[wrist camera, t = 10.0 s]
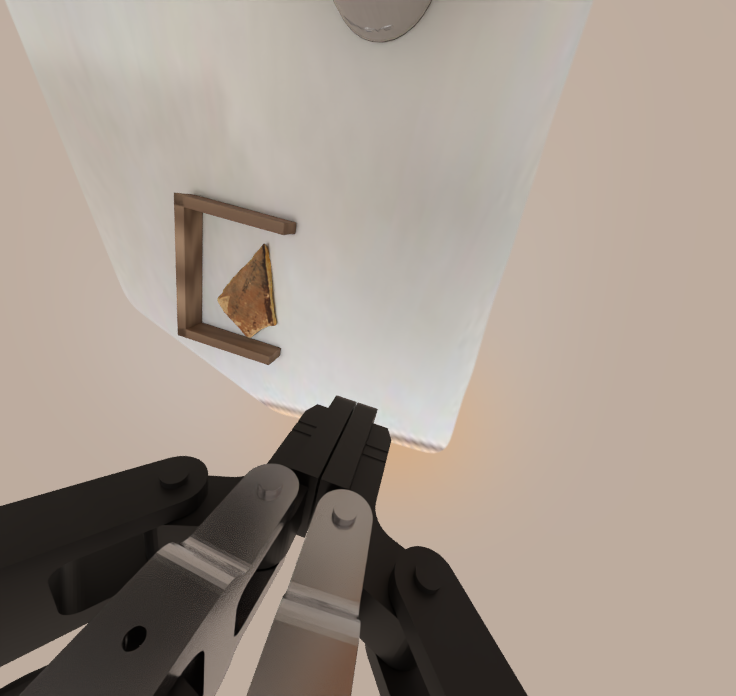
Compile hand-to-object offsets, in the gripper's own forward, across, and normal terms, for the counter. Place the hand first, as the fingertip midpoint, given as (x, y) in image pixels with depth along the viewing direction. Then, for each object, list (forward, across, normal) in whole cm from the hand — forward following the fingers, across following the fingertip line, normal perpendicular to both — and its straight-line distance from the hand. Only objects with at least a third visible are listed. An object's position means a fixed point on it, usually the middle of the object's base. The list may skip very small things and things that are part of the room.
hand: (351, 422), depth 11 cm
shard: (+28, +20, +7) cm, 35 cm away
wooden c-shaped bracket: (+27, +21, +6) cm, 35 cm away
